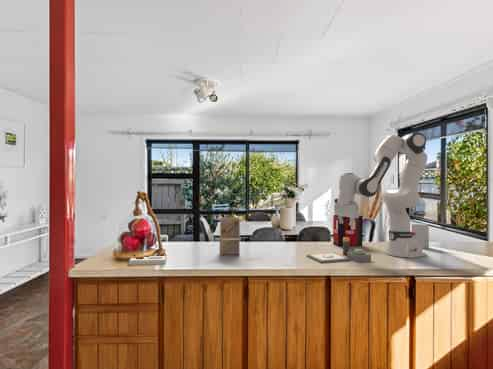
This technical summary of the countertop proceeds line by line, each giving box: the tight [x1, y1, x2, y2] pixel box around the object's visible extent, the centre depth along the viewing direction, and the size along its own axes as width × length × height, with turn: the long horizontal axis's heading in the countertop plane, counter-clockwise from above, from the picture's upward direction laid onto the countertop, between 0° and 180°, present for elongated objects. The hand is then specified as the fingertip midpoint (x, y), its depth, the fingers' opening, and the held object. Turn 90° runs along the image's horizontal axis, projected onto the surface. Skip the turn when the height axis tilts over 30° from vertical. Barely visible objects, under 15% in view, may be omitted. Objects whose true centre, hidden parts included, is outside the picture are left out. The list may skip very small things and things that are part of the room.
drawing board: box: [306, 252, 351, 264], centre depth 192 cm, size 18×16×1 cm
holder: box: [128, 255, 168, 266], centre depth 199 cm, size 45×18×3 cm, turn 7°
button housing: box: [346, 251, 372, 263], centre depth 189 cm, size 9×9×4 cm
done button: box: [353, 248, 364, 255], centre depth 189 cm, size 5×5×3 cm
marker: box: [342, 237, 350, 257], centre depth 201 cm, size 4×4×10 cm
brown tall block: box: [219, 211, 241, 256], centre depth 199 cm, size 8×12×26 cm
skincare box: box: [411, 222, 430, 250], centre depth 225 cm, size 8×7×16 cm
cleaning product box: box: [332, 214, 363, 248], centre depth 231 cm, size 16×9×20 cm, turn 98°
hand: (346, 224), depth 201 cm, fingers open, 8 cm apart
